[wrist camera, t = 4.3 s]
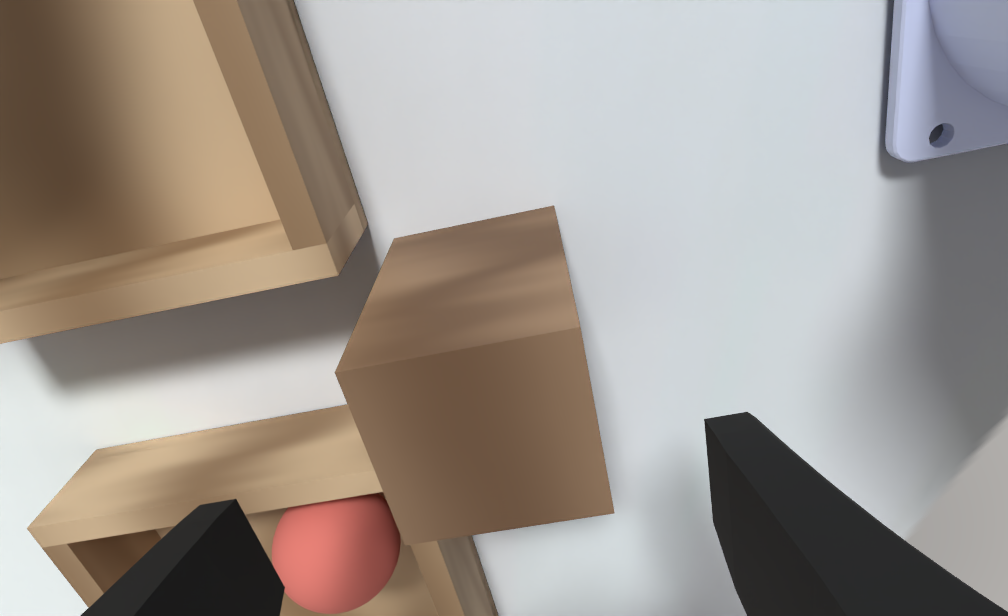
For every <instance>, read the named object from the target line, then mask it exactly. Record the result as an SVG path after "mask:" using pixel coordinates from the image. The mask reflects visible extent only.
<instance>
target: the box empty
mask: <svg viewBox="0 0 1008 616" xmlns="http://www.w3.org/2000/svg"><path fill="white" fill-rule="evenodd" d="M367 225H368V223H367V220H366V217H365V214H364V211H363V208H362V205H361V202H360V199H359V196H358V193H357V190H356V187H355V184H354V181H353V178H352V175H351V172H350V169H349V166H348V163H347V160H346V157H345V154H344V151H343V148H342V145H341V142H340V139H339V136H338V133H337V130H336V127H335V124H334V121H333V118H332V115H331V112H330V109H329V106H328V103H327V100H326V97H325V94H324V91H323V88H322V85H321V82H320V79H319V76H318V73H317V70H316V67H315V64H314V61H313V58H312V55H311V52H310V49H309V46H308V43H307V40H306V37H305V34H304V31H303V28H302V25H301V22H300V19H299V16H298V13H297V10H296V7H295V4H294V1H293V0H0V344H1V343H6V342H11V341H16V340H21V339H26V338H31V337H36V336H41V335H46V334H51V333H56V332H61V331H66V330H71V329H76V328H81V327H85V326H90V325H95V324H100V323H105V322H110V321H115V320H120V319H125V318H130V317H135V316H140V315H145V314H150V313H155V312H160V311H165V310H170V309H175V308H180V307H185V306H190V305H195V304H200V303H205V302H210V301H214V300H219V299H224V298H229V297H234V296H239V295H244V294H249V293H254V292H259V291H264V290H269V289H274V288H279V287H284V286H289V285H294V284H299V283H304V282H309V281H314V280H319V279H324V278H329V277H334V276H339V274H340V272H341V270H342V269H343V267H344V265H345V263H346V262H347V260H348V258H349V256H350V255H351V253H352V251H353V250H354V248H355V246H356V244H357V243H358V241H359V239H360V237H361V236H362V234H363V232H364V230H365V229H366V227H367Z"/></svg>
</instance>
